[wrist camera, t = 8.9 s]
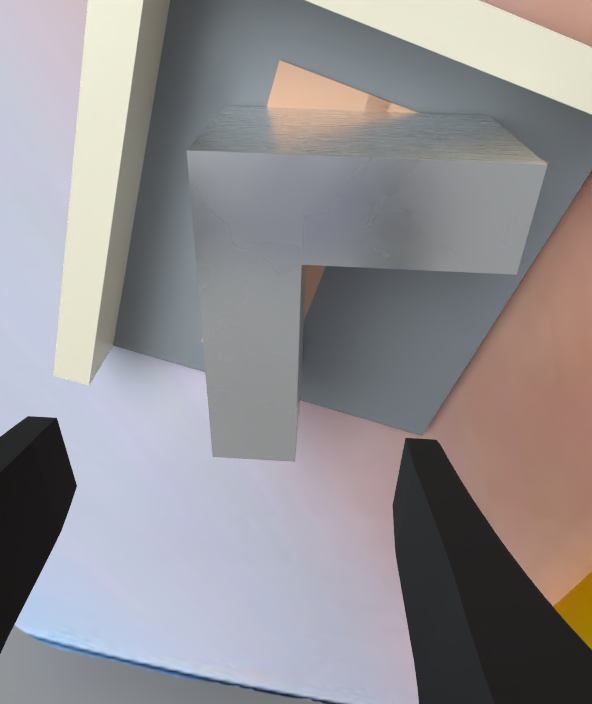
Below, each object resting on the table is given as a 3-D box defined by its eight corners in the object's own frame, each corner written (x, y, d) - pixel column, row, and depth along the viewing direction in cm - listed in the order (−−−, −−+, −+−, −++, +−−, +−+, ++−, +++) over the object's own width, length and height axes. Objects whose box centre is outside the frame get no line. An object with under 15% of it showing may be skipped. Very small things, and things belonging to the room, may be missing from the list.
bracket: (435, 371, 20) (461, 471, 16) (236, 361, 21) (212, 456, 16) (489, 115, 15) (547, 164, 11) (225, 105, 16) (186, 150, 11)
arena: (640, 74, 15) (702, 94, 13) (419, 425, 23) (431, 481, 20) (146, -130, 13) (102, -157, 11) (87, 327, 21) (53, 375, 18)
